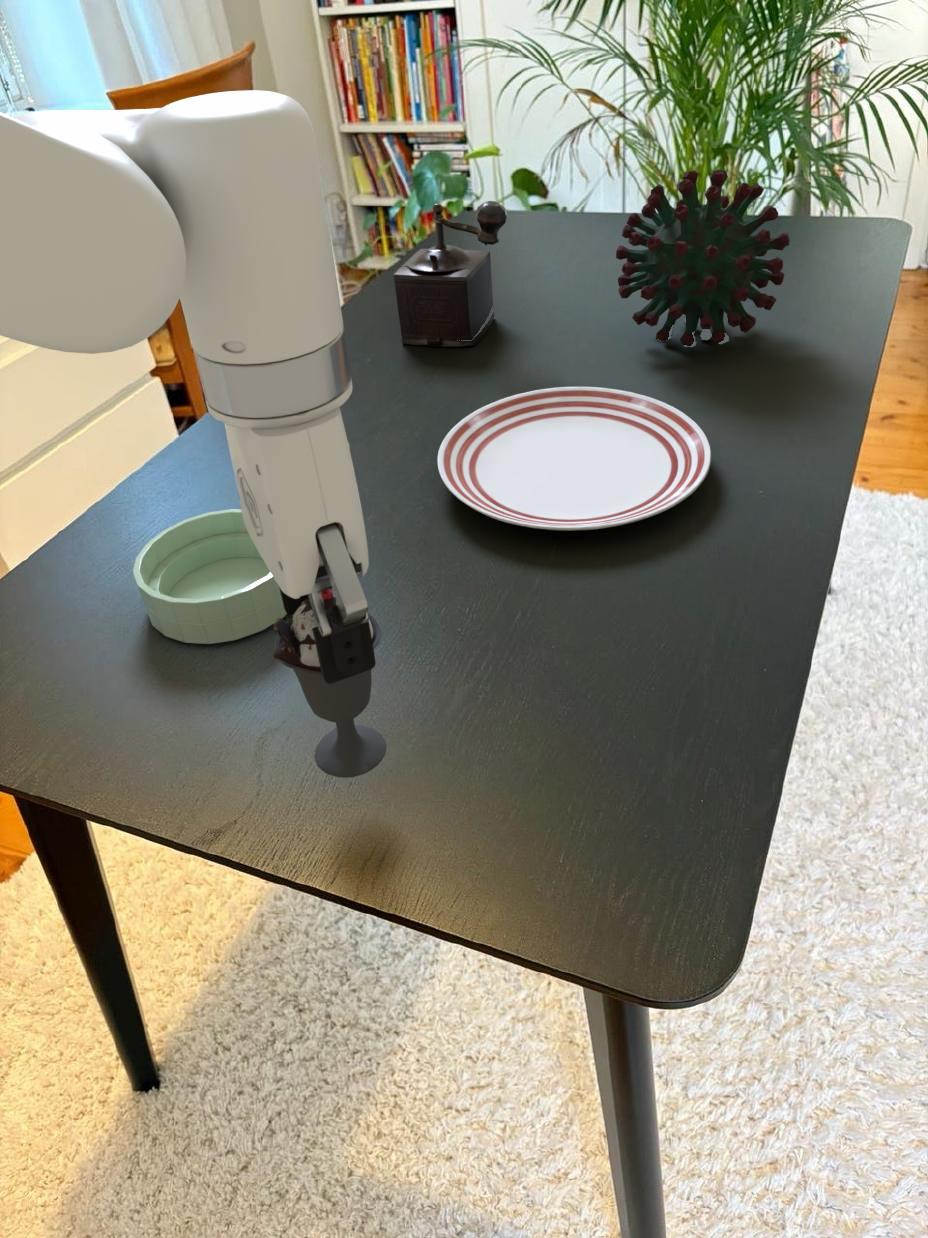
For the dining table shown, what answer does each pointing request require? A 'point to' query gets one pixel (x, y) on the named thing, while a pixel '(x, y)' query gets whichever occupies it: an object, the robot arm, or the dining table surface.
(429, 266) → the coffee grinder
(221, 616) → the bowl
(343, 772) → the sundae
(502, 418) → the dinner plate
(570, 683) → the dining table surface
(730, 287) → the virus model
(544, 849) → the dining table surface
